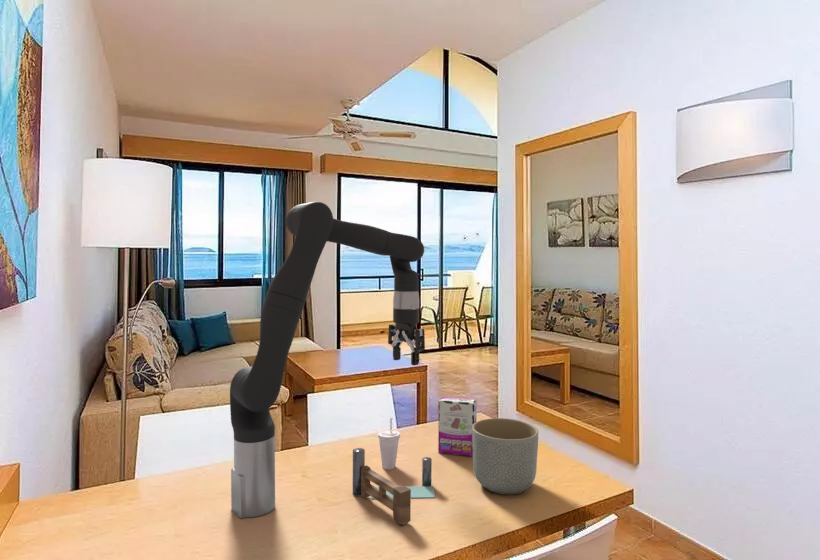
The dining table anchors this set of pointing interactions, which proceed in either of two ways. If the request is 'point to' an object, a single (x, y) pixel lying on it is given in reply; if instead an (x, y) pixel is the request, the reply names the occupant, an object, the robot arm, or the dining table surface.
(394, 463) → the smoothie
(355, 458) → the gatepost
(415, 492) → the open mat
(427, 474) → the post
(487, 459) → the planter
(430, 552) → the dining table surface
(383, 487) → the gate
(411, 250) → the robot arm
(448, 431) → the candy bar box
